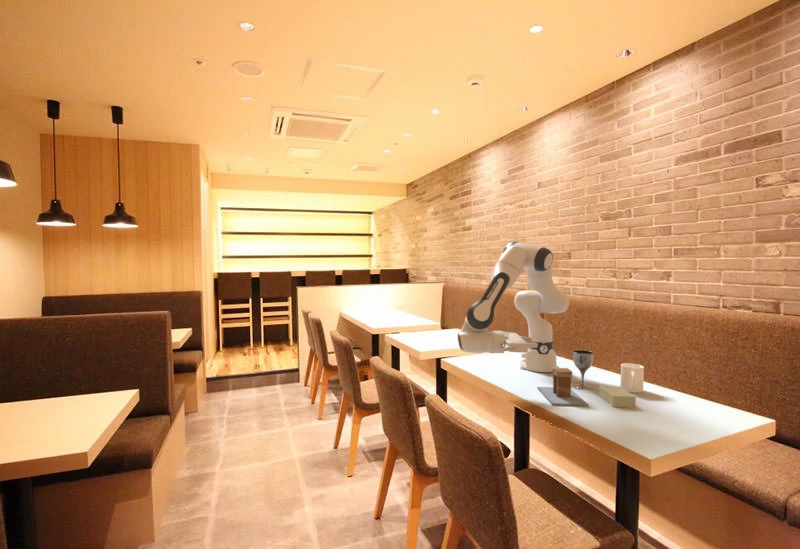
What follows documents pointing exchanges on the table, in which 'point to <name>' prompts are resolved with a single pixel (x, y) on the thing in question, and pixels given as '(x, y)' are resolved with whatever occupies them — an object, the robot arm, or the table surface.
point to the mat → (562, 398)
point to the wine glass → (582, 364)
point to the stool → (562, 382)
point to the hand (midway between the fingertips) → (534, 342)
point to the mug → (632, 377)
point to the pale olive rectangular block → (617, 396)
